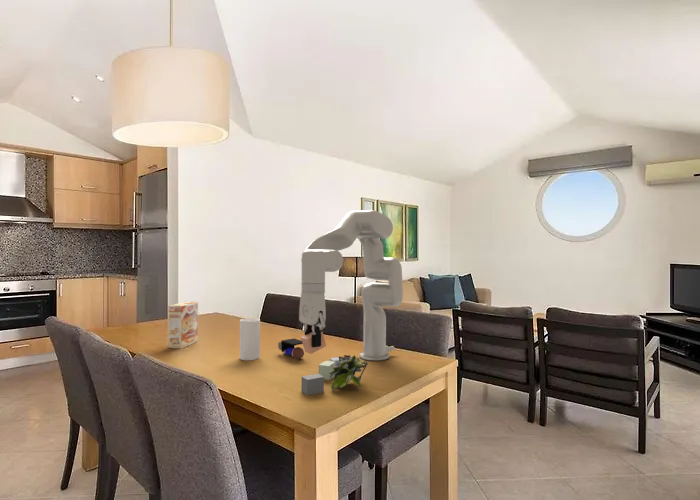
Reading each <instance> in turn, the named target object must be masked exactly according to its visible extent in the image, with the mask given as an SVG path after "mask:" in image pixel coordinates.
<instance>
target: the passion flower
mask: <svg viewBox="0 0 700 500" xmlns="http://www.w3.org/2000/svg"><path fill="white" fill-rule="evenodd" d="M338 357H339V361H340V362H338V364H336V366H334V367H333V371H331V372H329V374H331V375H330V378H331V377H332V376H333V375H335V376H334V377H333V378H331V379H333V382H331V386H330V387H331V391H334V390H336V389H337V388H339V389H342V388H344V387H345V386H347V385H348V384H349V383H350V382H351V381H352V382H353V383H354V384H355V385H356V386H357V388H356V389H357V390H356V391H359V387H361V379H362V376H363V374H364V371H365V370H366V368H367V366H368V364H369V362H368V360H365V359H362V361H361V360H360V357H357V356H356V355H352V356H351V355H350V354H349V355H347V354H344V355H343V356H338ZM341 359H342V360H341ZM362 368H363V369H362ZM356 372H357V373H360V375H359V376H355V375H356Z"/></svg>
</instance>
